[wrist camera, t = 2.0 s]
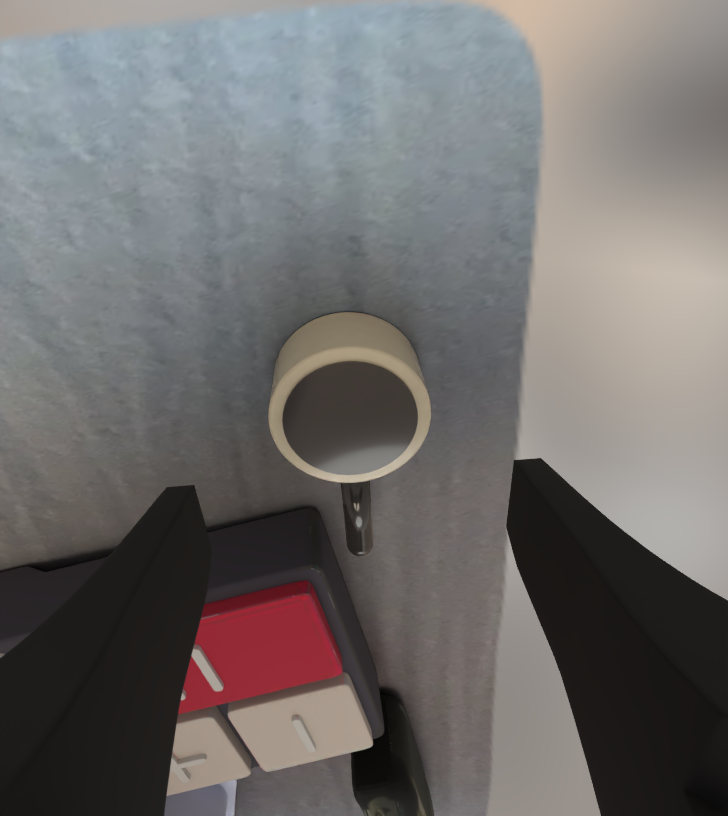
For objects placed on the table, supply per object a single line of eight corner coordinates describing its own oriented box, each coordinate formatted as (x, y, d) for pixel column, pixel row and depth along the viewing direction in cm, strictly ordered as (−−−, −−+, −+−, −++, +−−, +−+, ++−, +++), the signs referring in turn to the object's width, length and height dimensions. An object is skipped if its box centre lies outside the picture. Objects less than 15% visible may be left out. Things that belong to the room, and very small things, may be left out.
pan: (264, 316, 17) (255, 355, 15) (419, 305, 17) (433, 342, 15) (295, 518, 21) (293, 569, 19) (419, 508, 21) (429, 558, 19)
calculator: (390, 756, 23) (41, 838, 24) (376, 662, 27) (74, 734, 27) (321, 583, 18) (-140, 694, 18) (316, 492, 21) (-67, 586, 22)
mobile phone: (340, 803, 23) (402, 934, 31) (413, 791, 23) (457, 926, 31) (339, 688, 27) (393, 829, 35) (400, 678, 27) (441, 821, 35)
